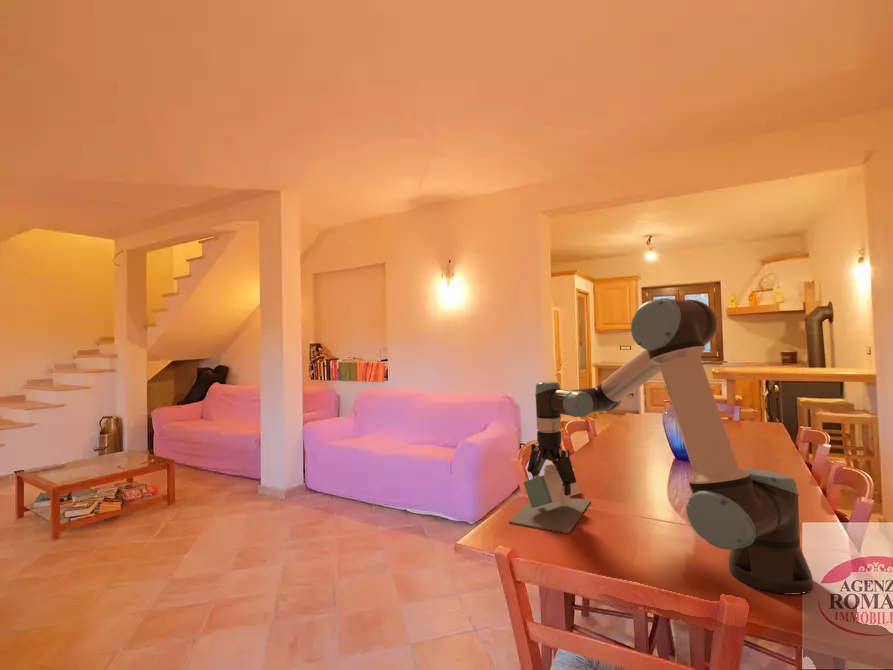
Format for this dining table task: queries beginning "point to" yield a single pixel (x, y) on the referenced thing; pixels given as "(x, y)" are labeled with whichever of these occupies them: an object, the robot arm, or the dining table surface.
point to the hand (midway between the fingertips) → (551, 500)
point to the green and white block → (547, 489)
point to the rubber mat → (552, 515)
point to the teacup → (550, 469)
